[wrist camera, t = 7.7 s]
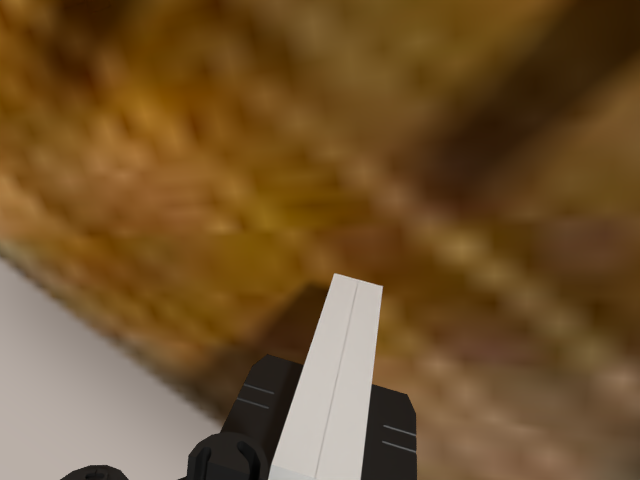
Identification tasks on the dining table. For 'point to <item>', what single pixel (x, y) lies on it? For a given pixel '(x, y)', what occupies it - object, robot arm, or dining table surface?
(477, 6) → the dining table surface
